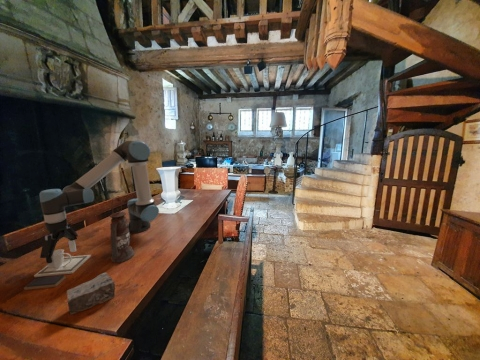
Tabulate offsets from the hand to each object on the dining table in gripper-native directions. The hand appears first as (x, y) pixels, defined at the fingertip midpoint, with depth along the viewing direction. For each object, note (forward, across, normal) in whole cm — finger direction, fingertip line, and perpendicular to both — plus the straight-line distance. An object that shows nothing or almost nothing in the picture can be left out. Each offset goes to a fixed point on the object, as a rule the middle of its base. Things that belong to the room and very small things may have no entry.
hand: (63, 259), depth 92 cm
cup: (+3, +2, 0) cm, 4 cm away
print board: (+4, 0, 0) cm, 4 cm away
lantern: (+4, -4, +26) cm, 27 cm away
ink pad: (+4, +12, +1) cm, 13 cm away
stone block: (+4, +25, +28) cm, 38 cm away
